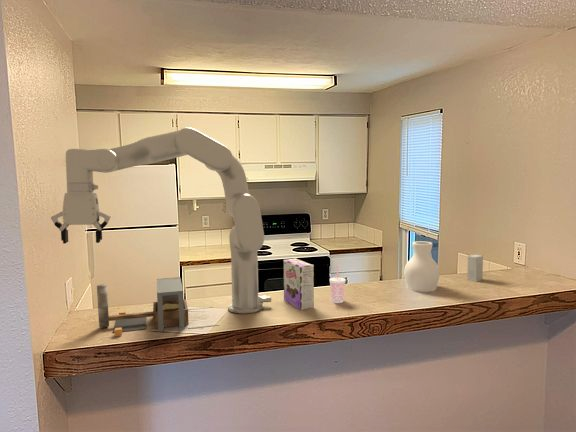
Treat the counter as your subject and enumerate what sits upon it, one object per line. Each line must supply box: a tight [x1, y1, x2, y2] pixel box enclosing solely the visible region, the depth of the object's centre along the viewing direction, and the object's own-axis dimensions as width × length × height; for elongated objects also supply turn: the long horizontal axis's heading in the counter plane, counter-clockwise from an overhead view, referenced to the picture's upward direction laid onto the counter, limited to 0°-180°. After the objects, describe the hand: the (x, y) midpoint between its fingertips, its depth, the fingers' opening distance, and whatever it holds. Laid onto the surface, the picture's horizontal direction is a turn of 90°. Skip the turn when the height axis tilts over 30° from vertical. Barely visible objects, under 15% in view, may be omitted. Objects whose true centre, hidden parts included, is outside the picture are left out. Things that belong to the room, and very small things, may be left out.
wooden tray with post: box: [96, 283, 190, 329], centre depth 146 cm, size 28×12×14 cm, turn 107°
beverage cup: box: [329, 265, 346, 304], centre depth 166 cm, size 6×6×14 cm
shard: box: [157, 304, 179, 312], centre depth 147 cm, size 11×8×2 cm
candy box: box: [282, 258, 315, 311], centre depth 164 cm, size 14×6×16 cm, turn 27°
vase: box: [403, 240, 441, 293], centre depth 182 cm, size 14×14×20 cm
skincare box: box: [466, 253, 484, 283], centre depth 193 cm, size 6×4×12 cm
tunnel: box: [111, 276, 220, 337], centre depth 148 cm, size 33×20×12 cm, turn 107°
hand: (82, 242), depth 139 cm, fingers open, 9 cm apart
